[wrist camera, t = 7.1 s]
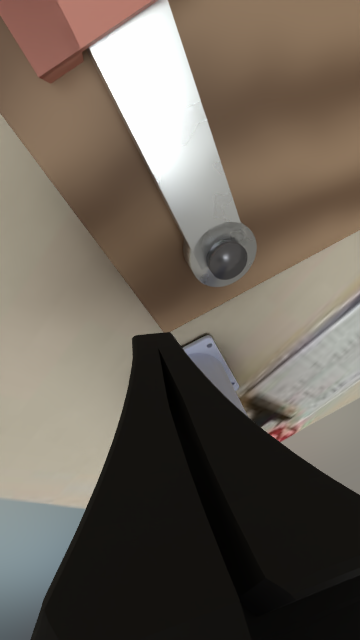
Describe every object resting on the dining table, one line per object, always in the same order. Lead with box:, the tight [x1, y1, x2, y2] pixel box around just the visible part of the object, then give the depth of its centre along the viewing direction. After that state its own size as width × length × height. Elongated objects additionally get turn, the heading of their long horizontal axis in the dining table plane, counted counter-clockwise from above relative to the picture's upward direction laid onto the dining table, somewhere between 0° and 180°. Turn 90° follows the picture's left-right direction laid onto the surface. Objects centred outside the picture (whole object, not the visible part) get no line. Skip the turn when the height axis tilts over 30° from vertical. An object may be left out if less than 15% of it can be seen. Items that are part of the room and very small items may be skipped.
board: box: [0, 0, 360, 333], centre depth 14 cm, size 20×19×1 cm
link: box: [87, 0, 257, 287], centre depth 12 cm, size 16×4×2 cm, turn 26°
